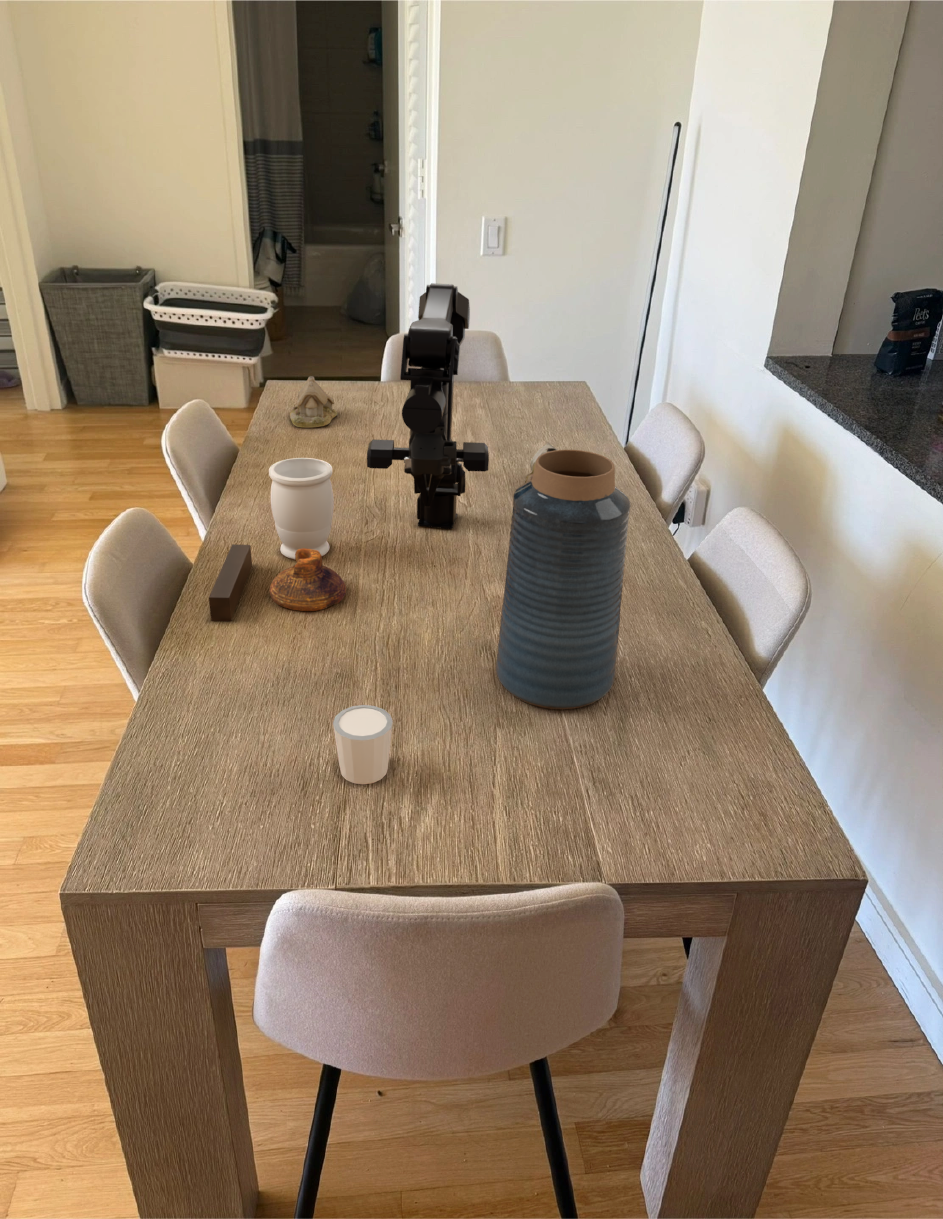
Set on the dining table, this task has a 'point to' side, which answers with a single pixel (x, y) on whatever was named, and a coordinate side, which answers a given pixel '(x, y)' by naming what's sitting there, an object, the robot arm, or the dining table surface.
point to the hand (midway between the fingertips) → (427, 505)
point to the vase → (564, 582)
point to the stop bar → (230, 583)
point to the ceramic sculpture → (542, 450)
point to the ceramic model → (312, 406)
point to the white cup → (363, 743)
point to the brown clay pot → (307, 584)
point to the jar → (302, 504)
